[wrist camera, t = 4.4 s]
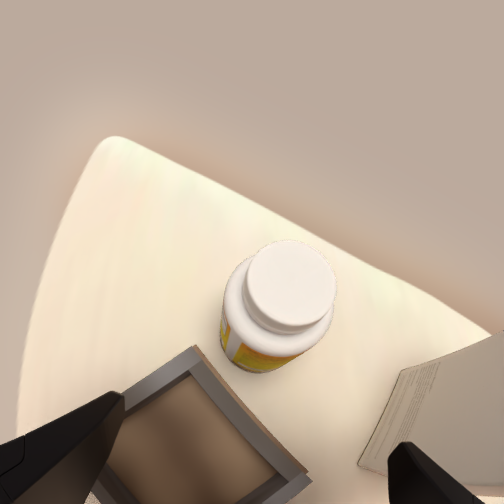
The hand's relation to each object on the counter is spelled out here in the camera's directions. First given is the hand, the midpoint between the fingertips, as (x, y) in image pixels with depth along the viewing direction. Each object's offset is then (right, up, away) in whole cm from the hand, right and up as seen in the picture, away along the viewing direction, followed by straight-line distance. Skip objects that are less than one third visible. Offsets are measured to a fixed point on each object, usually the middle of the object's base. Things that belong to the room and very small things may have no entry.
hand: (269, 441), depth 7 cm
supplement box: (+13, -10, +11) cm, 20 cm away
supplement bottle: (0, -1, +14) cm, 14 cm away
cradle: (-5, -8, +8) cm, 13 cm away
